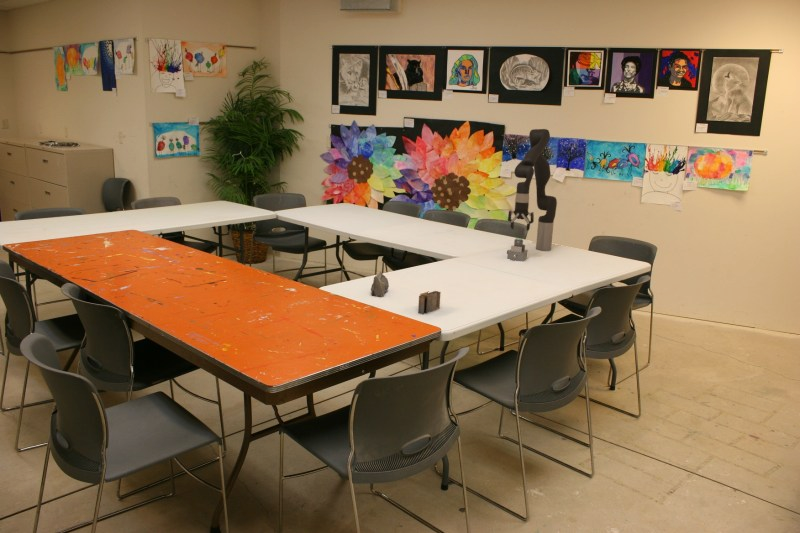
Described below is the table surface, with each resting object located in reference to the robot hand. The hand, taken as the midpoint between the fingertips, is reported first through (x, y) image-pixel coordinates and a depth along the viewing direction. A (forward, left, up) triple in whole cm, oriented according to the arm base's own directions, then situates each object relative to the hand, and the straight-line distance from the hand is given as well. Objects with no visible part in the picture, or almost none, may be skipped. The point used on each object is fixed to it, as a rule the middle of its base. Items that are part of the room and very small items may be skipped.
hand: (519, 229), depth 381 cm
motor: (+1, -1, -17) cm, 17 cm away
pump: (0, 0, -12) cm, 12 cm away
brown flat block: (+123, -6, -18) cm, 125 cm away
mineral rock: (+109, -35, -17) cm, 116 cm away
